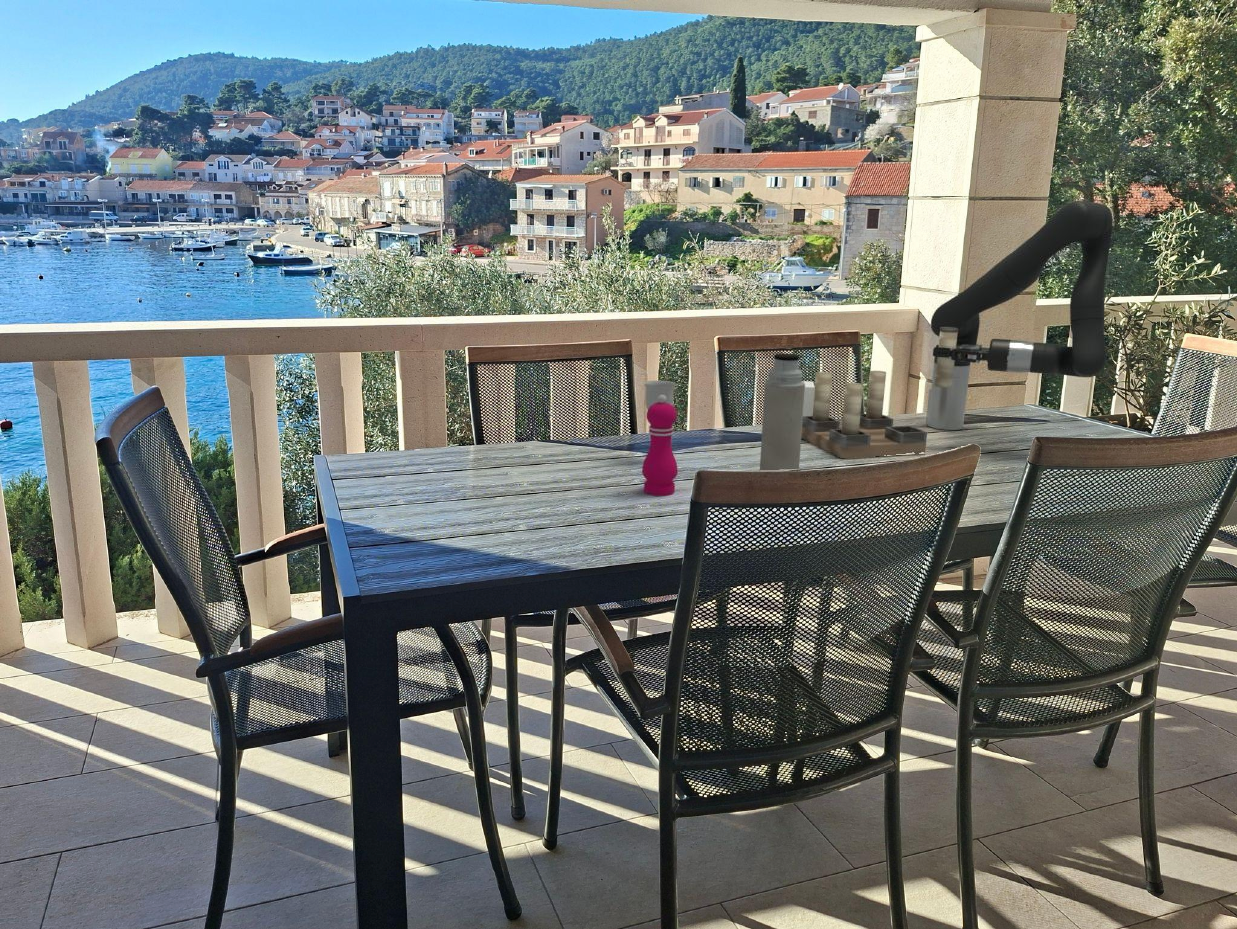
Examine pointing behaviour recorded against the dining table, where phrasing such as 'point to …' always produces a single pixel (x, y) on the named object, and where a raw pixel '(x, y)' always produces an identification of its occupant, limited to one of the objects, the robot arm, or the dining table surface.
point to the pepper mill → (660, 450)
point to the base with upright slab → (808, 398)
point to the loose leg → (945, 364)
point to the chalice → (659, 391)
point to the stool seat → (858, 423)
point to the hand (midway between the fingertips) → (934, 350)
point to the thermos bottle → (782, 415)
